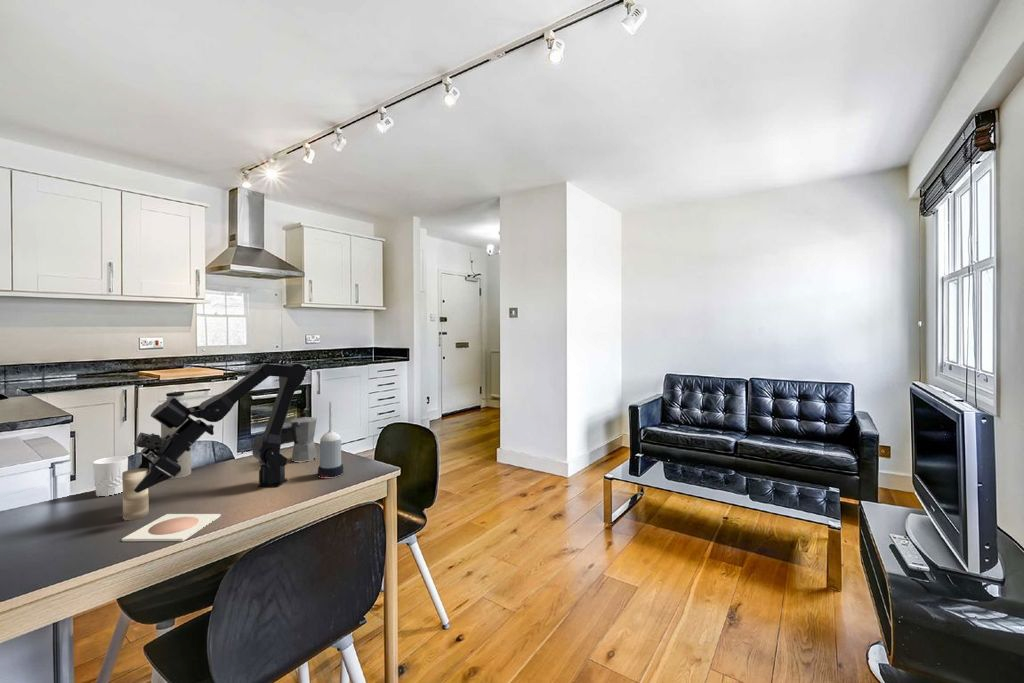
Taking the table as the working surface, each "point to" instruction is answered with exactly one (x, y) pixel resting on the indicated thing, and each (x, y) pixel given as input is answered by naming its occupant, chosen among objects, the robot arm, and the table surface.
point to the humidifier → (330, 452)
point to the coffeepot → (303, 438)
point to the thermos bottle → (186, 456)
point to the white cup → (109, 475)
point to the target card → (172, 527)
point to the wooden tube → (134, 495)
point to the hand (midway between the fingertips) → (132, 487)
